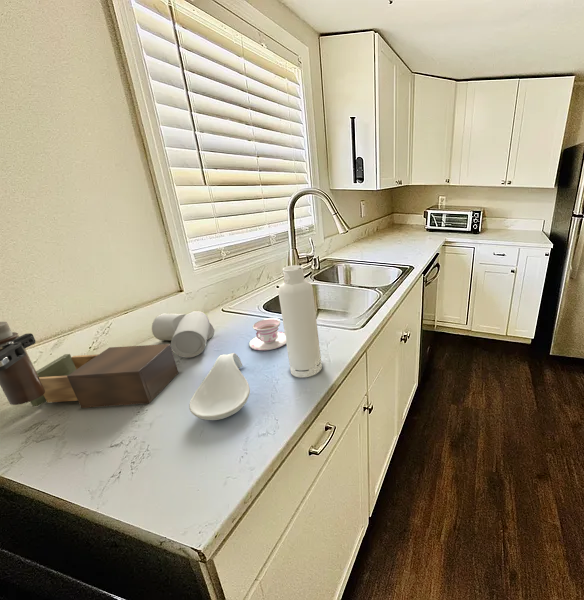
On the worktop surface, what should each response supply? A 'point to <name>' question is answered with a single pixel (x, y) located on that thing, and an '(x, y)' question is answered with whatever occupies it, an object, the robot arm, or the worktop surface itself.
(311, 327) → the bottle
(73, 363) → the drawer
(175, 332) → the l-shaped cylinder
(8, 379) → the pepper mill
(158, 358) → the cabinet
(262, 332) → the teacup
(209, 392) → the spoon rest
